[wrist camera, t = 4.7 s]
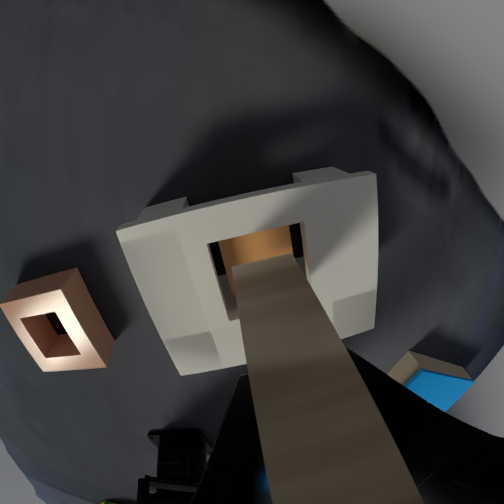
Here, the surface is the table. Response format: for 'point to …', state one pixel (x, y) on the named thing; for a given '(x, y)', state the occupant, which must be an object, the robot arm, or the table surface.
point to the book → (432, 379)
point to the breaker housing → (246, 222)
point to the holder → (71, 316)
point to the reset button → (254, 248)
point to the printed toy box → (107, 502)
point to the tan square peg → (312, 397)
